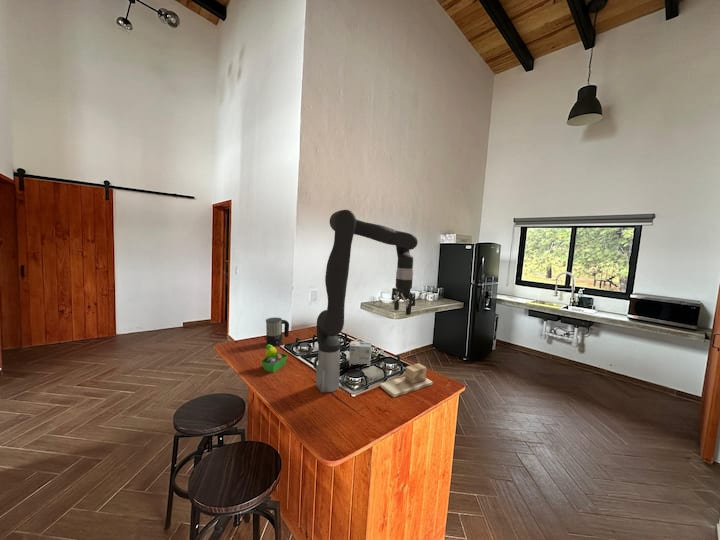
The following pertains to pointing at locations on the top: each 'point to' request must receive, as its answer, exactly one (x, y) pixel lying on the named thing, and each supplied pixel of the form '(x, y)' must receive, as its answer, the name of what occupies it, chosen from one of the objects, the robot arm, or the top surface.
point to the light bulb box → (360, 353)
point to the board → (403, 386)
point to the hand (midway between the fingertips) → (402, 312)
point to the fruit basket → (273, 359)
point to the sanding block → (415, 373)
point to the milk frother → (275, 331)
